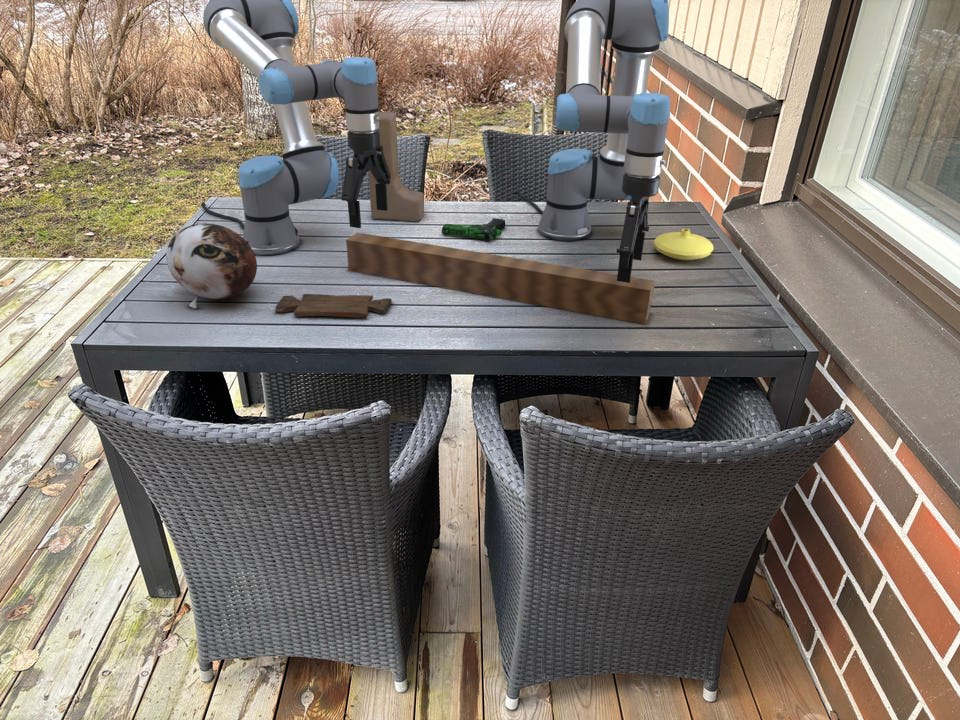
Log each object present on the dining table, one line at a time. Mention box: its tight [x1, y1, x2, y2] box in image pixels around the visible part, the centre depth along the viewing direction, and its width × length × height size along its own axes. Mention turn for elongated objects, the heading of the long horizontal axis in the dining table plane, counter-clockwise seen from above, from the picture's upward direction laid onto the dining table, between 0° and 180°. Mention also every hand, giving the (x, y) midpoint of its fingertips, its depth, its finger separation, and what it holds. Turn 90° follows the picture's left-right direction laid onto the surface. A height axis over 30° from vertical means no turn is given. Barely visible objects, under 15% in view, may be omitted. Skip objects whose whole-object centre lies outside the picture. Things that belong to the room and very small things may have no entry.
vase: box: [653, 228, 715, 261], centre depth 193 cm, size 16×16×7 cm
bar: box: [345, 232, 656, 325], centre depth 171 cm, size 76×6×8 cm, turn 69°
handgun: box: [441, 217, 506, 242], centre depth 207 cm, size 16×3×15 cm
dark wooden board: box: [275, 293, 392, 318], centre depth 164 cm, size 26×2×10 cm
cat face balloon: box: [165, 222, 258, 309], centre depth 165 cm, size 22×18×20 cm
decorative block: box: [367, 111, 425, 222], centre depth 210 cm, size 8×15×30 cm, turn 82°
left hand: (369, 218), depth 176 cm, fingers open, 13 cm apart
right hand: (629, 270), depth 158 cm, fingers open, 13 cm apart
